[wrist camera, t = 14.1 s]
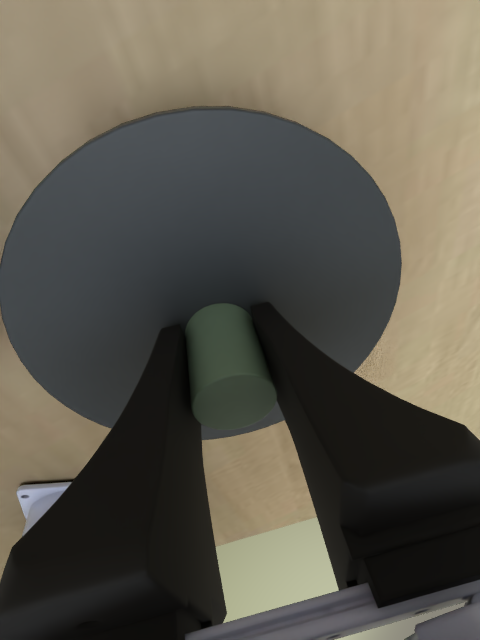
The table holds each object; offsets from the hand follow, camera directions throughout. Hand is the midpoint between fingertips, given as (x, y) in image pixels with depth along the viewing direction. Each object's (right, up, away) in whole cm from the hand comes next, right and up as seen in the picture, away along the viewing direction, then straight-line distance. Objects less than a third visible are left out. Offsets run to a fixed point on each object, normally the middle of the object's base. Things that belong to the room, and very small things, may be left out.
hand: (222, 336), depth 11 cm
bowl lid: (0, +1, +1) cm, 1 cm away
